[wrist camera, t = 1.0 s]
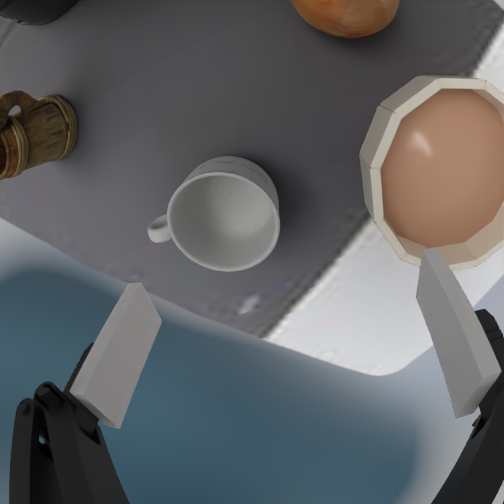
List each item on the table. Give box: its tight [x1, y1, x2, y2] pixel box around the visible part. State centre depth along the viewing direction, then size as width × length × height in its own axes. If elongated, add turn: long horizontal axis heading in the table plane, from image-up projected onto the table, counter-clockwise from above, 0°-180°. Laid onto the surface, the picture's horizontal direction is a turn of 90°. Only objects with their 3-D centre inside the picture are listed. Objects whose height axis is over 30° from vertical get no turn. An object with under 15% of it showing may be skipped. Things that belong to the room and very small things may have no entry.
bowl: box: [359, 75, 504, 271], centre depth 27 cm, size 22×22×5 cm
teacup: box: [148, 156, 280, 272], centre depth 32 cm, size 14×11×8 cm
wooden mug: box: [0, 91, 77, 180], centre depth 23 cm, size 9×14×18 cm, turn 154°
